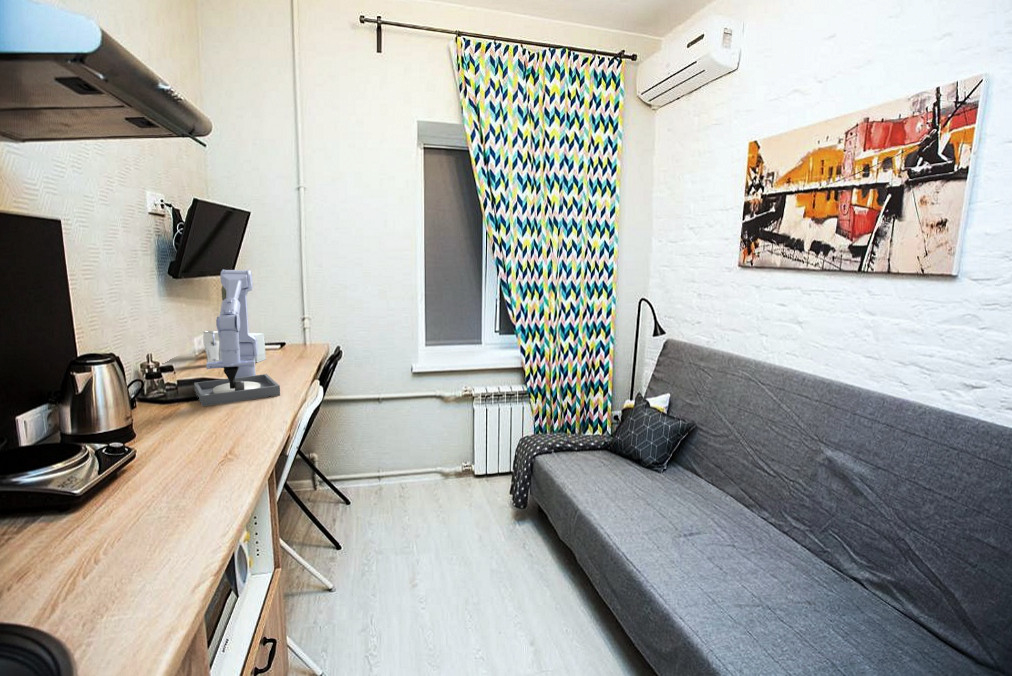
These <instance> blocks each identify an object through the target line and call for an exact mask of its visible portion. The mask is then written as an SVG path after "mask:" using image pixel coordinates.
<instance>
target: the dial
mask: <svg viewBox="0 0 1012 676" xmlns="http://www.w3.org/2000/svg"><path fill="white" fill-rule="evenodd" d="M234 387H235V388H234V389H230V383H226V384H222V385H218V386H216V387H214V388H213V394H217V393H225V392H232V391H239V390H247V389H254V388H261V387H260V384H259V383H257V382H249V381H235V382H234Z"/></svg>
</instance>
